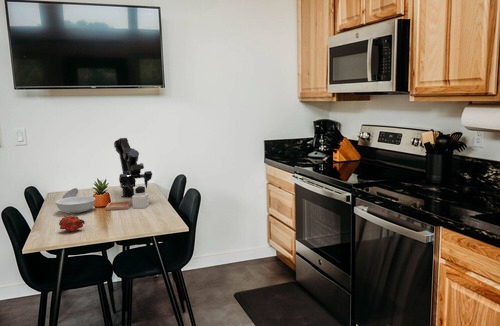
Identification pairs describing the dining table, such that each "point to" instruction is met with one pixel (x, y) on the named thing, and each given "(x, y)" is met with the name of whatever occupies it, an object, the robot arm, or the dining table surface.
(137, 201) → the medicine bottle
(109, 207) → the terracotta tray
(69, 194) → the grey rounded lump
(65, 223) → the dragon fruit
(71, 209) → the serving bowl
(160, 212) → the dining table surface
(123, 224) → the dining table surface
